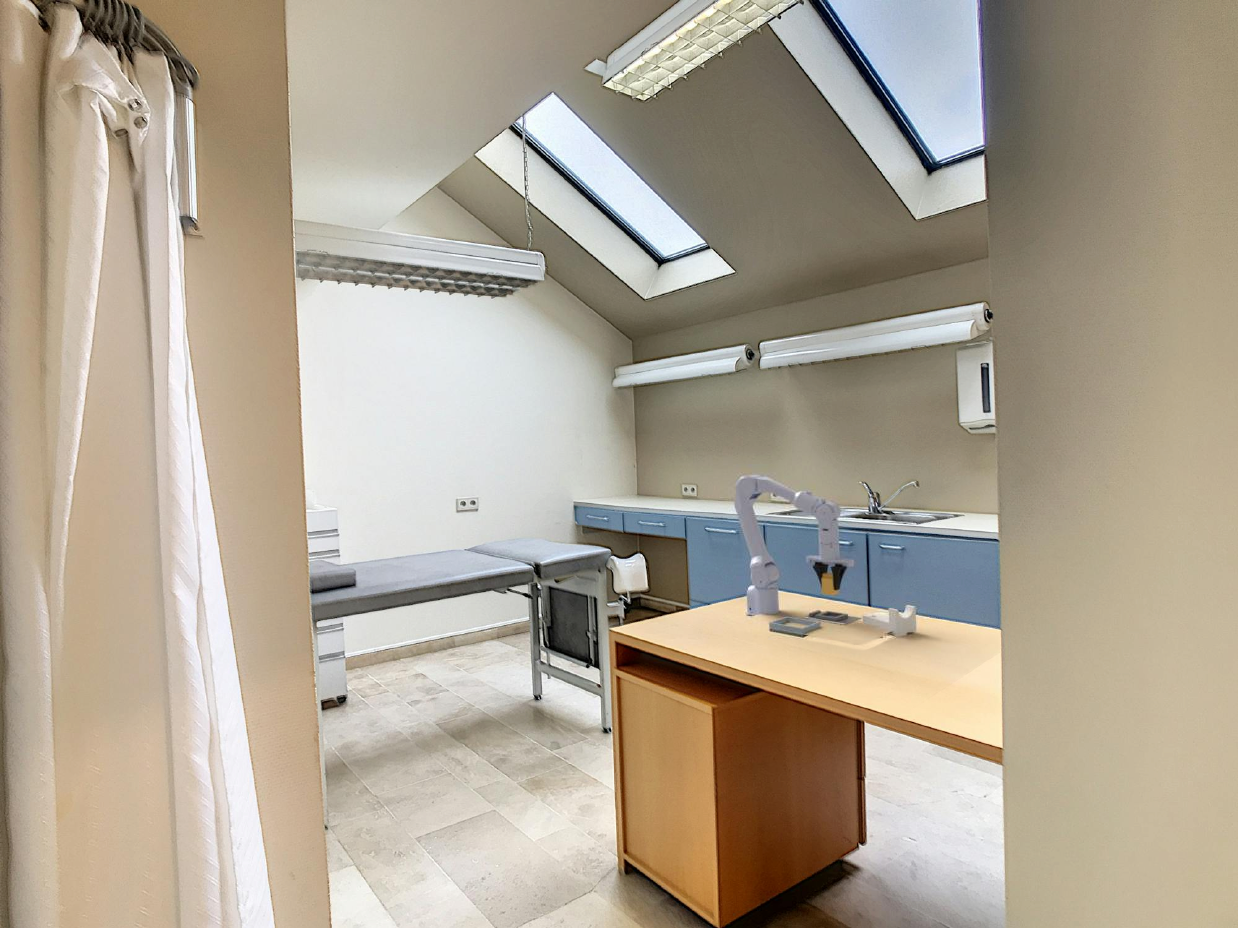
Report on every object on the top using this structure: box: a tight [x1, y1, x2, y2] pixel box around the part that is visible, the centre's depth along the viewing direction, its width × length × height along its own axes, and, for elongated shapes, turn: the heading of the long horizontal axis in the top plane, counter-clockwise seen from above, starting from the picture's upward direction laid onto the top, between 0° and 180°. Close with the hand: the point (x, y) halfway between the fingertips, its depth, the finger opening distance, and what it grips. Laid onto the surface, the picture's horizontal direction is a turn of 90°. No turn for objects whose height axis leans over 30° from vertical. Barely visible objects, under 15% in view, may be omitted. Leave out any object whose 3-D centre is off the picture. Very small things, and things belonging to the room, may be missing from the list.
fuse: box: [821, 571, 840, 597], centre depth 210 cm, size 4×4×6 cm
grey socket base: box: [802, 609, 862, 626], centre depth 210 cm, size 14×10×2 cm
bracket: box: [861, 604, 917, 638], centre depth 199 cm, size 13×7×8 cm, turn 23°
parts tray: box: [768, 616, 821, 638], centre depth 202 cm, size 11×9×2 cm
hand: (830, 588), depth 210 cm, fingers closed on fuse, 4 cm apart
